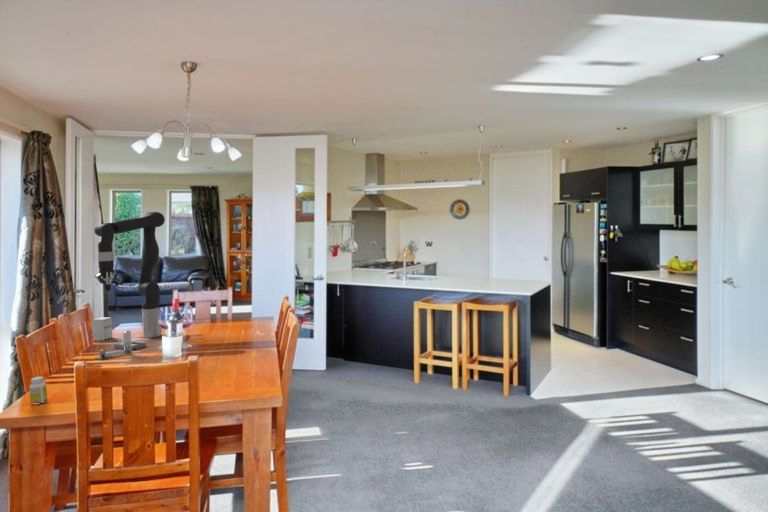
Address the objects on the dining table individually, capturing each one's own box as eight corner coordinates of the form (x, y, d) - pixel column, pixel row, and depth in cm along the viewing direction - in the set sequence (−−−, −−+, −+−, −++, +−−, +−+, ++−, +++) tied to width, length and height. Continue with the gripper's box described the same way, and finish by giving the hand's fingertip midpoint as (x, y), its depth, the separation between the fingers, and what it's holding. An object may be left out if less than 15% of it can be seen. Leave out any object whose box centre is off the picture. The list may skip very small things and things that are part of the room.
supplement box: (103, 340, 299) (102, 319, 298) (93, 340, 301) (91, 319, 300) (113, 338, 306) (111, 317, 306) (102, 337, 308) (101, 317, 307)
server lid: (128, 344, 288) (128, 340, 288) (146, 346, 283) (145, 342, 282) (114, 348, 280) (113, 344, 280) (131, 350, 274) (131, 346, 274)
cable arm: (100, 357, 258) (99, 335, 257) (99, 356, 261) (98, 334, 260) (132, 353, 267) (131, 331, 266) (131, 351, 270) (129, 330, 269)
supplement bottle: (43, 399, 199) (42, 375, 199) (50, 402, 196) (48, 377, 195) (28, 403, 195) (26, 378, 194) (34, 406, 192) (32, 381, 191)
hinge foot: (104, 355, 264) (104, 355, 264) (112, 357, 262) (112, 356, 262) (93, 358, 259) (93, 358, 259) (101, 360, 256) (101, 359, 256)
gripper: (112, 258, 292) (113, 289, 293) (90, 260, 280) (92, 292, 281) (121, 259, 288) (122, 289, 290) (99, 261, 276) (101, 292, 278)
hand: (107, 290), depth 285 cm, fingers closed
